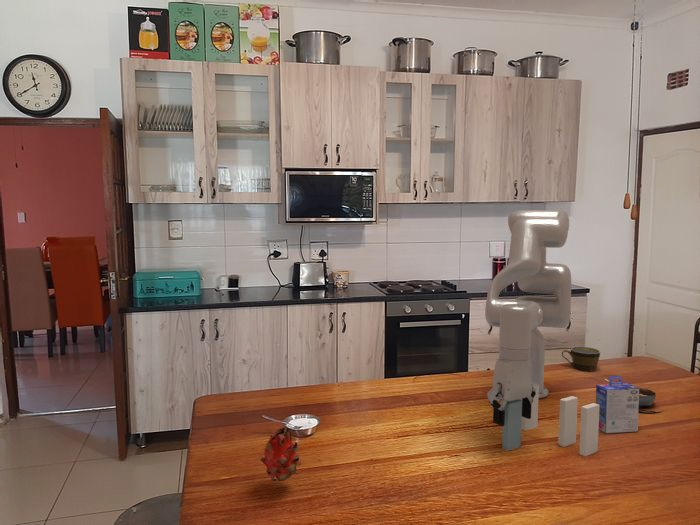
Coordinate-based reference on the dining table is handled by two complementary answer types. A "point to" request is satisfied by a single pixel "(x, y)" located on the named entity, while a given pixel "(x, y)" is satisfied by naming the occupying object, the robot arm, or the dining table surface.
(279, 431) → the dragon fruit
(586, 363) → the ceramic cup
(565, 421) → the domino
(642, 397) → the soup bowl
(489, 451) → the dining table surface
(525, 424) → the domino
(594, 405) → the domino
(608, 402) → the ink cartridge box
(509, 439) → the domino
